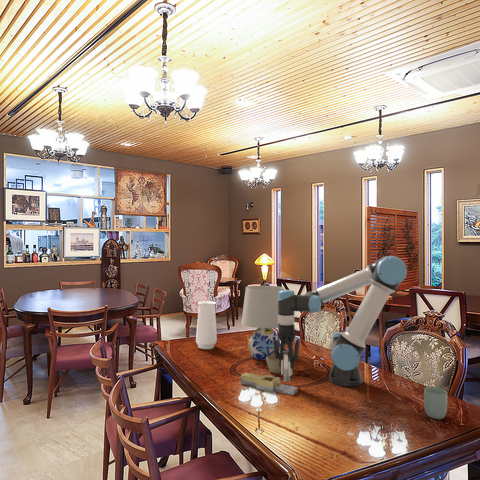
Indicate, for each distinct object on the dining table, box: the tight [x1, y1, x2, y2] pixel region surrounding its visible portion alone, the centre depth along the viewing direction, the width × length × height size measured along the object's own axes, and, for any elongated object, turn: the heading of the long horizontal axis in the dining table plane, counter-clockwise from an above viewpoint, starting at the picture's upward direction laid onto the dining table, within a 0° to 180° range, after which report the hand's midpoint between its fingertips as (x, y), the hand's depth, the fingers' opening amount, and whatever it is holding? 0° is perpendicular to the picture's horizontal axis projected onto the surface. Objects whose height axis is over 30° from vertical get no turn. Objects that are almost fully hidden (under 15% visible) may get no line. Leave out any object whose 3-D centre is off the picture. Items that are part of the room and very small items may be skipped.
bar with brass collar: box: [240, 372, 298, 396], centre depth 172 cm, size 26×8×4 cm, turn 61°
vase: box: [195, 300, 218, 350], centre depth 241 cm, size 13×13×28 cm
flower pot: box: [265, 355, 281, 375], centre depth 195 cm, size 10×10×7 cm
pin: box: [282, 348, 291, 382], centre depth 177 cm, size 4×4×14 cm
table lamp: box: [241, 285, 286, 361], centre depth 222 cm, size 27×27×40 cm
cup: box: [423, 386, 448, 420], centre depth 145 cm, size 8×8×10 cm
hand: (286, 374), depth 177 cm, fingers closed on pin, 3 cm apart
